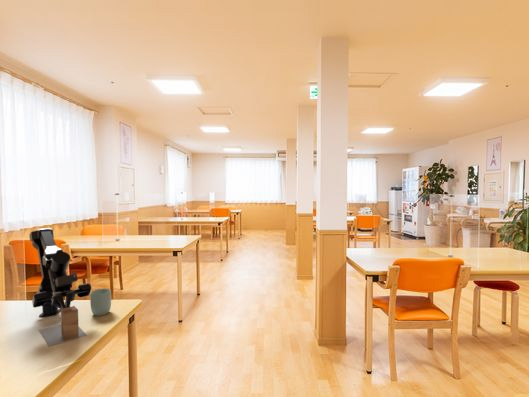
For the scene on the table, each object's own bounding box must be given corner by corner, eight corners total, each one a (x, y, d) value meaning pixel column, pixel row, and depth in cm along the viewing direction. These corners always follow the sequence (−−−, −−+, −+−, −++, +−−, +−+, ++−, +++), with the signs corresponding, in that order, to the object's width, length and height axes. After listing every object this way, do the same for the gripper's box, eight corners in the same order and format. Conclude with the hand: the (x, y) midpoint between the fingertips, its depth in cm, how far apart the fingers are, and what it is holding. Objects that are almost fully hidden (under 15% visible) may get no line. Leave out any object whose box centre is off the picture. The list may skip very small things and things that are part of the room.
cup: (103, 318, 137) (102, 294, 137) (86, 317, 139) (85, 293, 138) (115, 311, 145) (114, 288, 144) (99, 310, 146) (98, 288, 146)
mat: (38, 331, 126) (38, 330, 126) (73, 322, 134) (73, 321, 134) (48, 347, 113) (48, 346, 113) (87, 336, 121) (87, 335, 121)
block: (61, 335, 121) (60, 309, 120) (75, 332, 124) (74, 305, 123) (64, 340, 117) (63, 313, 116) (78, 336, 120) (78, 309, 120)
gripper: (32, 271, 119) (39, 310, 111) (89, 262, 131) (99, 296, 124) (29, 288, 125) (36, 326, 117) (84, 278, 137) (93, 311, 130)
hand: (67, 314), depth 122 cm, fingers closed, pressing on block
